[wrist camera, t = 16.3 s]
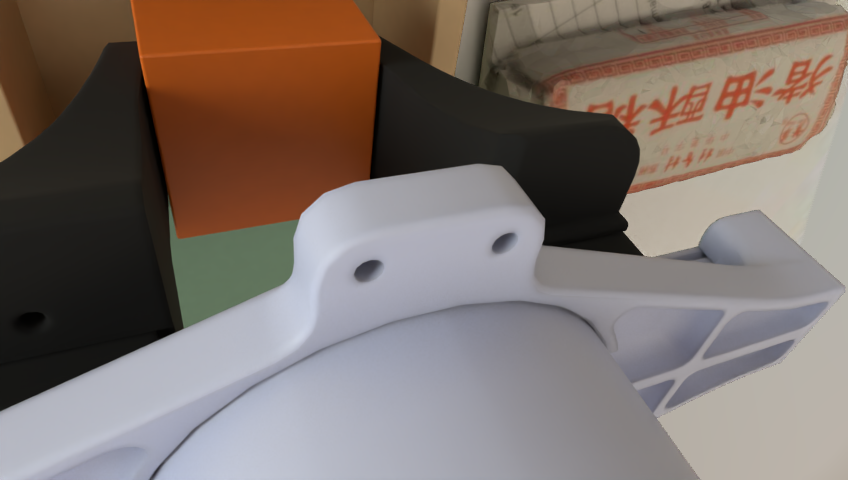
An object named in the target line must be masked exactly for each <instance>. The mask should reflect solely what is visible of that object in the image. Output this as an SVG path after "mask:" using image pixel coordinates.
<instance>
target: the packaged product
mask: <svg viewBox="0 0 848 480" xmlns="http://www.w3.org/2000/svg"><path fill="white" fill-rule="evenodd" d="M837 1H838V0H508V1H502V2H495V3H490V10H489V17H488V24H487V31H486V38H485V45H484V52H483V59H482V66H481V73H480V80H479V87H480V88H483V89H486V90H488V91H491V92H494V93H497V94H500V95H504V96H507V97H511V98H515V99H518V100H522V101H525V102H530V103H534V104H539V105H543V106H549V107H555V108H560V109H566V110H573V111H583V112H593V113H603V114H612V115H614V116H615V117H616V118H617V119H618V120H619V121H620V122H621V123H622V124H623V125H624V126H625V127H626V128H627V129H628V130H629V131H630V132H631V133H632V134H633V135H634V136H635V137H636V138H637V141H638V144H639V147H640V162H639V165H638V168H637V171H636V174H635V177H634V179H633V182H632V184H631V186H630V188H629V190H628V192H627V194H630V193H635V192H639V191H642V190H646V189H651V188H655V187H660V186H663V185H666V184H670V183H673V182H676V181H683V180H687V179H690V178H693V177H696V176H701V175H705V174H708V173H713V172H716V171H719V170H723V169H725V168H732V167H735V166H738V165H742V164H747V163H751V162H755V161H759V160H762V159H765V158H770V157H776V156H781V155H783V154H788V153H793V152H794V151H796V150H800V149H801V148H802V147H803V146H804V145H805V144H806V142H807V141H808V140H809V139H810V138H811V137H813V136H814V135H817V134H819V133H820V132H821V131H822V130H823V129H824V128H825V126H826V125H827V123H828V120H829V119H830V118H831V116H832V114H833V112H834V108H835V105H836V103H835V99H836V97H837V94H838V91H839V88H840V85H841V81H842V78H843V73H844V69H845V67H846V66H847V64H848V63H847V62H846V61H847V60H848V12H846V11H845V10H844V8H843V7H842V6H841V5H836V3H837Z"/></svg>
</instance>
